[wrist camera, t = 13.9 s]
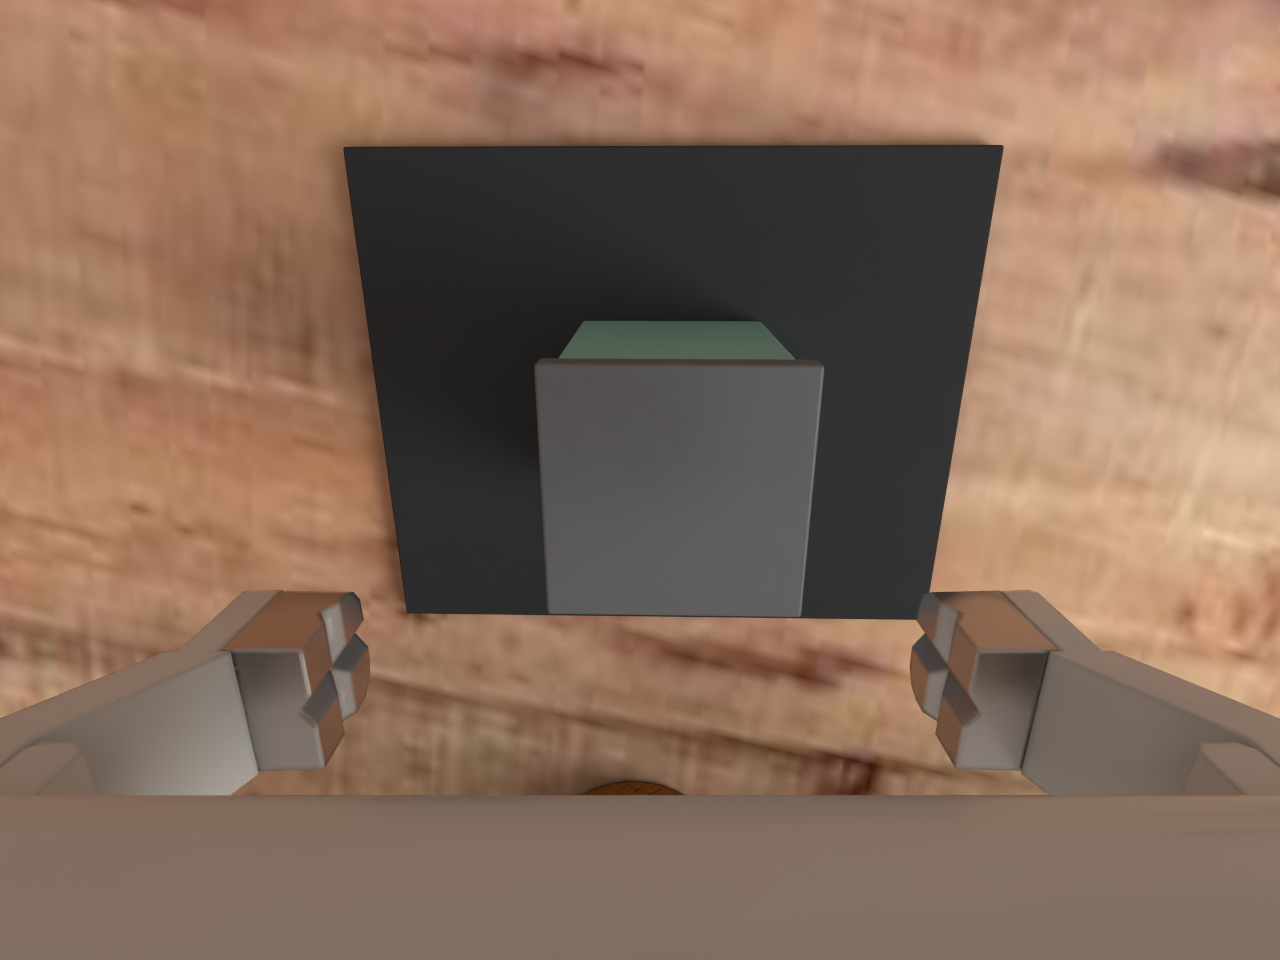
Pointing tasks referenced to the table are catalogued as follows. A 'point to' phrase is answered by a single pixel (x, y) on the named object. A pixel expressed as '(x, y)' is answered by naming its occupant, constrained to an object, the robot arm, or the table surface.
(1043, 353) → the table surface
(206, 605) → the table surface
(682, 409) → the green block grey end
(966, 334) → the mat
